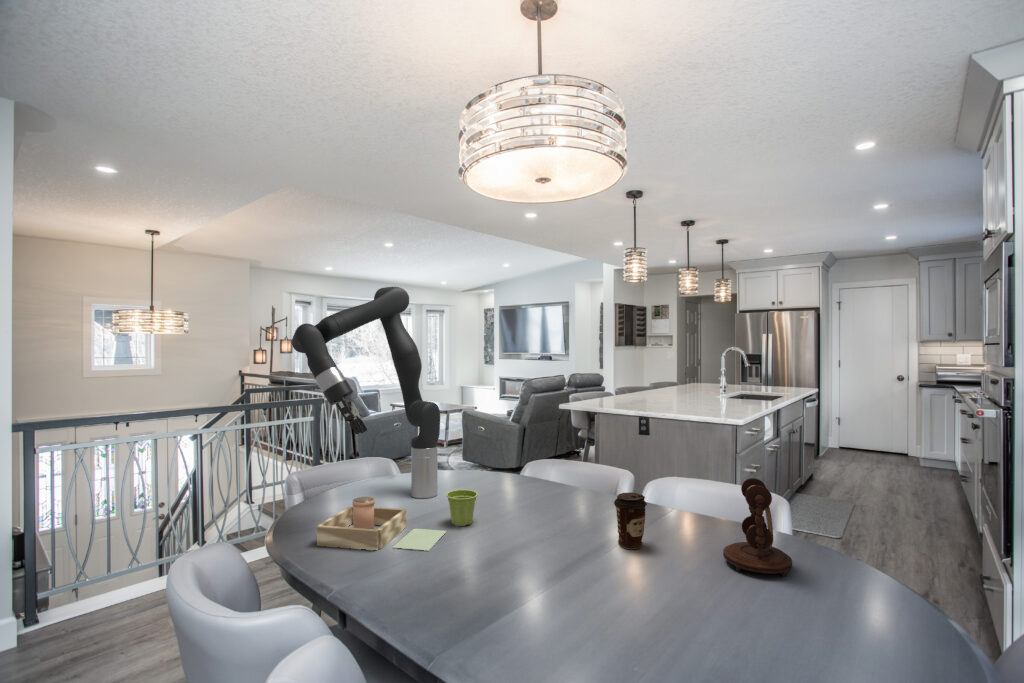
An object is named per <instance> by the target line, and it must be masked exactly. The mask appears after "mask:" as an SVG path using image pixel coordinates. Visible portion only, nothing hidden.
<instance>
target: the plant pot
mask: <svg viewBox="0 0 1024 683" xmlns="http://www.w3.org/2000/svg"><path fill="white" fill-rule="evenodd" d="M478 494H479V493H478V492H477V491H475V490H472V489H455V490H451V491H448V492H447V493H446V497H447V501H448V506H449V511H450V519H451V524H453V525H454V526H456V527H465V526H467V525H471V524H472V523H473V518H474V510H475V506H476V505H475V504H476V501H477V497H478Z"/></svg>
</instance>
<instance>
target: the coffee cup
mask: <svg viewBox="0 0 1024 683" xmlns="http://www.w3.org/2000/svg"><path fill="white" fill-rule="evenodd" d="M645 499H646V496H644V495H643V494H639V493H637V492H621V493H618V494H617V497H616V499H614V501H613V504H614V506H615V509H616V520H617V533H618V540H617V544H618V546H619V547H620V548H623V549H627V550H637V549H641V548H643V545H644V544H643V537H644V534H645V525H646V524H645V523H646V506H647V505H648V503H647V502H646V500H645Z"/></svg>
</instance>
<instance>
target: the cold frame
mask: <svg viewBox="0 0 1024 683" xmlns="http://www.w3.org/2000/svg"><path fill="white" fill-rule="evenodd" d="M352 523H353V505H352V506H348V507H346V508H344V509H342V510H341V511H339V512H338V513H336V514H333V515H332V516H331V517H329V518H327V519H326V520H324V521H323V522H321V523H319V524H317V526H316V546H317V547H325V546H326V547H327V548H337V547H340V549H349V548H351V549H352V550H353V549H354V550H361V549H366V550H365V551H373V550H377V551H378V550H382V549H383V548H384V547H386V546H387V545H388V544H389V543H390V542H391V541H392V540H393V538H394V537H395V536H396V535H397V534H398V533H400V532H401V531H402V530H403V529H404V528H405V529H407V509H406V508H394V507H380V506H379V507H378V506H374V526H376V525H382V526H378V528H377V529H376V528H374V529H362V528H353V527H350V526H352V525H353V524H352ZM351 524H352V525H351ZM349 525H350V526H349ZM348 526H349V527H348ZM405 529H404V530H405ZM404 530H403V531H404ZM403 531H402V532H403ZM402 532H401V533H402ZM401 533H400V534H401ZM398 535H399V534H398ZM398 535H397V536H398ZM397 536H396V537H397ZM396 537H395V538H396ZM395 538H394V539H395ZM391 539H392V540H391ZM390 540H391V541H390ZM389 541H390V542H389ZM388 542H389V543H388ZM387 543H388V544H387ZM383 546H384V547H383ZM326 547H325V548H326ZM382 547H383V548H382ZM381 548H382V549H381ZM351 549H350V550H351Z"/></svg>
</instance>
